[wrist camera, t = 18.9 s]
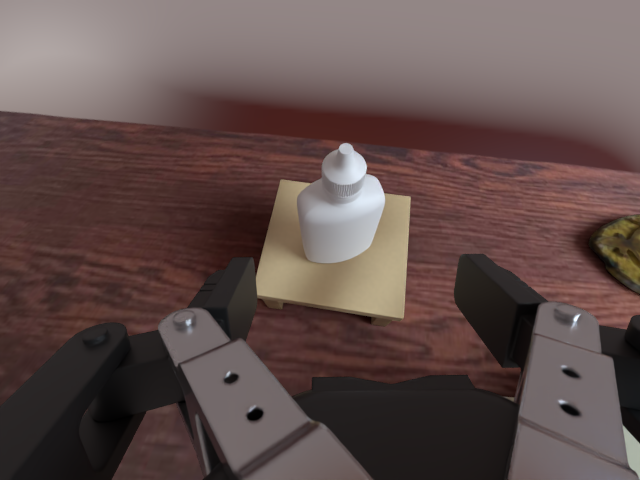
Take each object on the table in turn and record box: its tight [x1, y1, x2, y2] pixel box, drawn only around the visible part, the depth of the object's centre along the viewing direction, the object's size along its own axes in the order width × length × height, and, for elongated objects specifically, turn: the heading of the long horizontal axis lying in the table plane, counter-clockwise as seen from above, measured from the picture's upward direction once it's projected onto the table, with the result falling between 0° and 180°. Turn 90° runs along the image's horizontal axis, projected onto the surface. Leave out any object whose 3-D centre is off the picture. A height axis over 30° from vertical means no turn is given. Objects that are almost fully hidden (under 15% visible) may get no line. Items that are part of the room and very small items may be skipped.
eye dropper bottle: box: [297, 143, 385, 263], centre depth 21 cm, size 4×6×12 cm
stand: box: [256, 180, 411, 327], centre depth 30 cm, size 12×11×6 cm
